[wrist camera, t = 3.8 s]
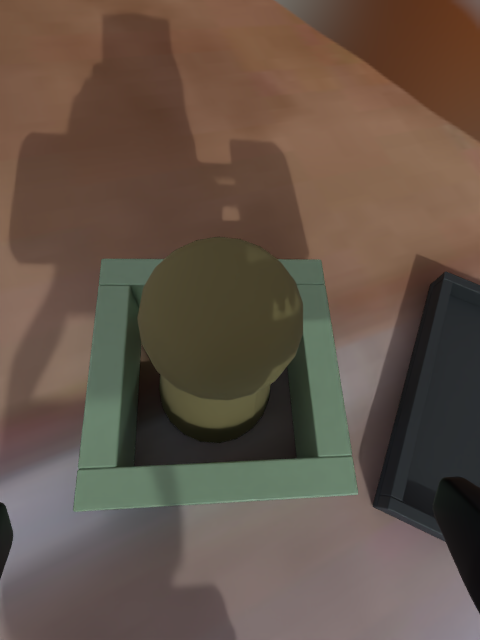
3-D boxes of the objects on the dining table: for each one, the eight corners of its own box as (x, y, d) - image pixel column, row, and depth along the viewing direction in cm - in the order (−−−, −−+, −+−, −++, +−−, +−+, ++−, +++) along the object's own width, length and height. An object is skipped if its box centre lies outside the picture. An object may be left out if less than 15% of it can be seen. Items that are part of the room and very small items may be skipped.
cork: (144, 356, 21) (86, 237, 11) (243, 320, 22) (275, 184, 12) (181, 462, 19) (152, 442, 9) (288, 415, 20) (371, 350, 10)
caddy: (329, 491, 19) (359, 494, 15) (99, 505, 18) (72, 512, 14) (303, 294, 23) (321, 259, 19) (118, 295, 22) (101, 257, 18)
